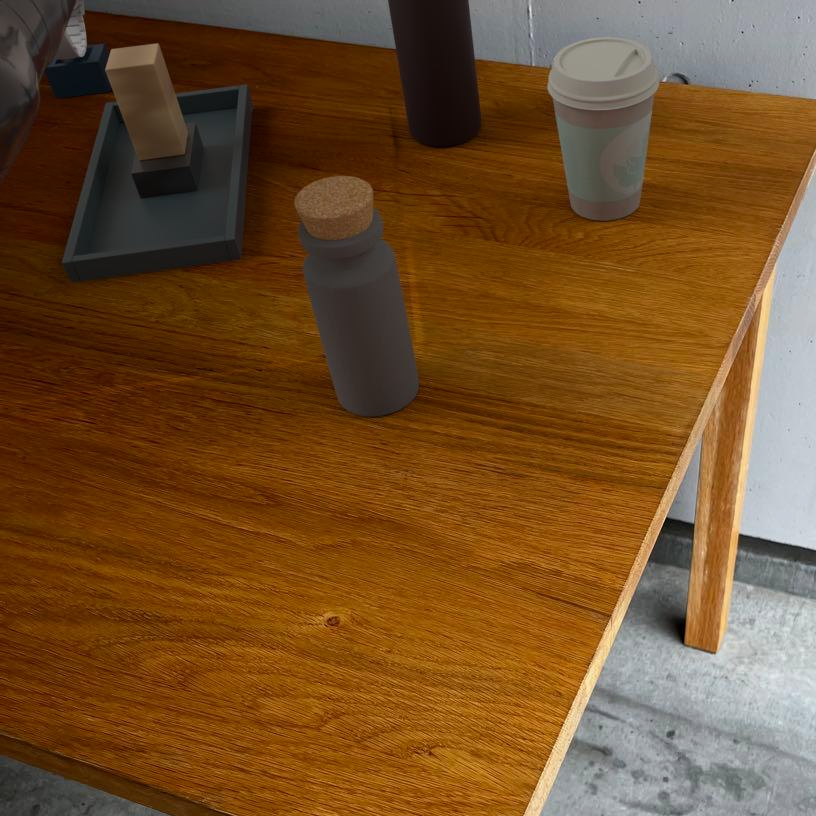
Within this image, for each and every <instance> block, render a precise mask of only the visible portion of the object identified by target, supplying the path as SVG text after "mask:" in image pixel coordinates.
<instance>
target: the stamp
mask: <svg viewBox="0 0 816 816" xmlns="http://www.w3.org/2000/svg"><path fill="white" fill-rule="evenodd" d="M105 71H106V73H107V76H108V79H109V81H110V84H111V90H112V92H113V95H114V98H115V100H116V101H117V103H118V105H119V108H120V111H121V113H122V116H123V119H124V122H125V124H126V127H127V130H128V132H129V135H130V138H131V140H132V143H133V146H134V148H135V151H136V153H135V158H134V162H133V167H132V171H131V175H132V178H133V180H134V183H135V185H136V188H137V191H138V193H139V196H140V198H147V197H155V196H162V195H169V194H177V193H184V192H192V191H197V190H198V183H199V175H200V168H201V161H202V153H203V144H202V141H201V137H200V134H199V131H198V128H197V125H196V122H194V123H186V124H185V122H184V119H183V116H182V113H181V110H180V107H179V103H178V100H177V97H176V94H177V93H176V91H175V89H174V86H173V83H172V80H171V76H170V74H169V70H168V67H167V65H166V61H165V58H164V55H163V52H162V49H161V46H160V43H150V44H149V43H148V44H142V45H132V46H125V47H118V48H111V49H110V52H109V59H108V62H107V66H106V69H105Z"/></svg>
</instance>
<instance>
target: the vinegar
mask: <svg viewBox="0 0 816 816" xmlns="http://www.w3.org/2000/svg"><path fill="white" fill-rule="evenodd" d="M387 3H388V9H389V15H390V21H391V27H392V34H393V40H394V46H395V52H396V59H397V65H398V71H399V76H400V83H401V90H402V95H403V103H404V108H405V115H406V121H407V126H408V132H409V134H410V136H411V138H412V139H413V140H415V141H416V142H417V143H420V144H421V145H425V146H428V147H436V148H437V147H438V148H445V147H452V146H453V147H454V146H457V145H462V144H464V143H465V142H466V143H467V142H468V141H470V140H472V139H473V138H474V137H476V136H477V135H478V133H479V132H480V130H481V129H482V113H481V112H482V111H481V102H480V94H479V85H478V84H479V83H478V77H477V76H478V74H477V65H476V55H475V47H474V39H473V29H472V20H471V11H470V10H471V9H470V2H469V0H387Z"/></svg>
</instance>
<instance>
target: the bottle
mask: <svg viewBox="0 0 816 816" xmlns="http://www.w3.org/2000/svg"><path fill="white" fill-rule="evenodd" d="M293 202H294V208H295V211H296V212H297V214H298V216H299V218H300V220H301V221H300V222H299V225H298V229H297V231H298V232H297V233H298V238H299V242H300V244H301V246H302V248H303V250H304V251H305V252H307V255H306V257H305V258H304V260H303V264H302V274H303V278H304V282H305V286H306V290H307V294H308V298H309V301H310V305H311V308H312V312H313V315H314V319H315V322H316V323H315V324H316V327H317V331H318V334H319V337H320V341H321V345H322V349H323V352H324V356H325V359H326V363H327V367H328V370H329V374H330V377H331V380H332V384H333V387H334V391H335V395H336V398H337V401H338V403H339V404H340V405H341V406H342V408H343V409H344V410H346V411H347V412H349V413H351V414H354V415H357V416H361V417H371V418H374V417H383V416H388V415H391V414H394V413H396V412H398V411H400V410H402V409H403V408H405V407H407V406H408V405H409V404H411V402H412V401H414V399H415V398H416V396H417V395H418V392H419V389H420V379H419V372H418V366H417V362H416V357H415V352H414V351H415V350H414V347H413V345H414V344H413V340H412V335H411V331H410V325H409V320H408V315H407V309H406V305H405V300H404V293H403V289H402V284H401V279H400V278H401V277H400V275H399V269H398V265H397V259H396V255H395V252H394V250H393V248H392V246H390V244H389V243H387V242H386V241H385V240H383V239H382V238H383V235H384V222H383V219H382V218H383V217H382V216H381V213H380V211H378V209H377V208H375V207H374V189H373V187H372V185H371V184H370V183H369V182H367V181H366V180H364V179H362V178H359V177H356V176H348V175H338V176H337V175H336V176H329V177H324V178H320V179H318V180H315V181H313V182H310V183H309V184H307V185H305V186H304V187H303V188H301V189H300V190H299V191H298V192H297V194H296V196H295V197H294V201H293Z"/></svg>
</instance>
